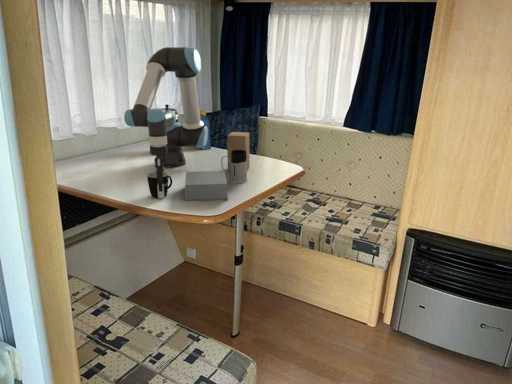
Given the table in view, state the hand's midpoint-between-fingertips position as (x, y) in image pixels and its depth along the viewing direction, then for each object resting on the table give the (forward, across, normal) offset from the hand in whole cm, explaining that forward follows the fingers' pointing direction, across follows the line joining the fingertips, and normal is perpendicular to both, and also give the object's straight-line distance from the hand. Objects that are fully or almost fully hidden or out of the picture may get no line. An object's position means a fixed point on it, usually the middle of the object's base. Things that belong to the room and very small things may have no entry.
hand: (161, 194), depth 187 cm
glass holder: (+1, -16, +35) cm, 39 cm away
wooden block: (0, -36, +40) cm, 54 cm away
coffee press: (0, -82, +1) cm, 82 cm away
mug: (+1, -1, 0) cm, 1 cm away
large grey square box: (+1, 0, +20) cm, 20 cm away
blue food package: (0, -92, +23) cm, 94 cm away
